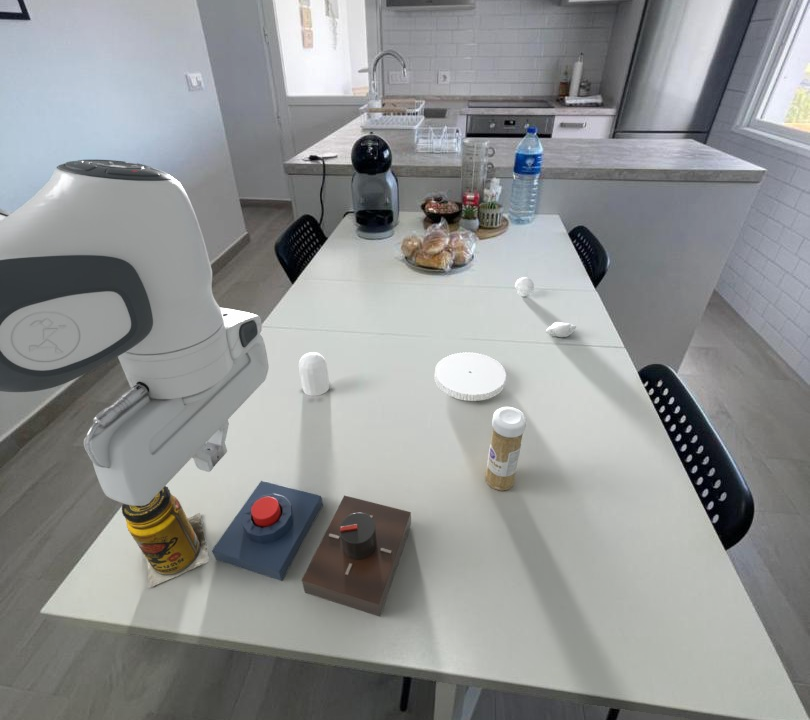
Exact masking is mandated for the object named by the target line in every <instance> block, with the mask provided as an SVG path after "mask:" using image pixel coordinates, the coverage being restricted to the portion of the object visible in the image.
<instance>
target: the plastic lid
mask: <svg viewBox="0 0 810 720" xmlns="http://www.w3.org/2000/svg"><path fill="white" fill-rule="evenodd" d="M506 381H507V371H506V369H505V367H504V366H503V365H502V363H500V362H499V361H498V360H497V359H494V357H492V356H489V355H487V354H483V353H480V352H479V353H478V352H472V351H470V352H469V351H467V352H466V351H464V352H463V351H461V352H455V353H452V354H449V355H446V356H445V357H443V358H441V359H440V360H439V361H438V363H436V364H435V368H434V382H435V384H436V386H437V387H438V389H440V391H441V392H443V393H444V395H445V394H446V395H447V396H449V397H451V398H455V399H456V400H457V399H458V400H461V401H465V402H466V401H468V402H470V401H471V402H477V401H478V402H480V401H486V400H489V399H492V398H494V397H497V395H499V394H501V392H502V391H503V390H504V389H505V386H506Z"/></svg>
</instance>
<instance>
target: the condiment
mask: <svg viewBox="0 0 810 720" xmlns="http://www.w3.org/2000/svg"><path fill="white" fill-rule="evenodd" d="M121 514H122V516H123V517H124V518H125V521H126V528H127V531H128V532H129V533H130V536H131V537H132V539H133V540H134V541H135V543H136V544H137V546H138V547H139V550H140V551H141V552H142V554H143V555H144V557H145V558H146V561H147V571H148V572H147V573H148V588H152V587H155V586H157V585H160V584H162V583H164V582H167V581H169V580H171V579H173V578H176V577H179V576H181V575H182V574H185V573H188V572H189V571H191V570H194V569H196V568H197V567H199V566H202V565H204V564H206V563H209V562H210V558H209V552H208V546H207V542H206V541H207V540H206V536H205V531H204V526H203V521H202V516H201V512H199V513H197V514H194V515H193V516H190V517H187V515H186V512H185V511H184V509H183V506H182V504H181V503H180V501H179V499H178V498H177V497H176V496H174V495H173V494H172V493H171V491H170V489H169V487H168V486H166V485H165V487H164V488H163V489H162V490H161V491H160V492H159V493H158V494H157V495H156V496H155V497H154V498H153V499H152V500H151V501H150V502H149V503H148V504H146V505H143V506H132V505H127V504H123V503H121Z"/></svg>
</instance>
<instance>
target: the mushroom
mask: <svg viewBox="0 0 810 720" xmlns="http://www.w3.org/2000/svg"><path fill="white" fill-rule="evenodd" d="M514 288H515V289H516V291H517V295H518V296H520V297H522V298H523V297H527V296H529V295H530V294H532V293H533V291H534V289H535V284H534V281H533V280H532V279H531V278H529V277H526V276H524V277H523V276H522V277H520V278H519V279H517V280H516V282H515V284H514Z"/></svg>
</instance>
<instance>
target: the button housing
mask: <svg viewBox="0 0 810 720" xmlns="http://www.w3.org/2000/svg"><path fill="white" fill-rule="evenodd" d="M263 497H273V498H275V499H276V500H277V501H278V504H279V507H280V511H281V514H280V517H279V519H278V520H277V522H275V523H274V524H273V525H271V526H267V527H261V526H258V525H257V524H256V523H255V522H254V519H253V517H252V514H251V509H252V506H253V504H254V503H255V502H256V501H257V500H259V499H261V498H263ZM323 505H324V503H323V499H322V495H320V494H316V493H312V492H308V491H304V490H301V489H297V488H293V487H288V486H284V485H281V484H277V483H274V482H269V481H266V480H260V481H259V483H258V484H257V486H256V487H255V489H254V490H253V492H252V493H251V494H250V496H249V497H248V498H247V500H246V501H245V503H244V504H243V506H242V507H241V509H240V510H239V511H238V513H237V514H236V515H235V517H234V518H233V520H232V521H231V522H230V524H228V525H229V526H228V527H227V529H226V530H225V531H224V533H223V534H222V535H221V536H220V538H219V539H218V541H217V543H216V544H215V545H214V547H213V548H212V550H211V553H212V555H213V557H214V559H215V560H216V561H217V562H222V563H224V564H227V565H231V566H233V567H237V568H240V569H243V570H246V571H249V572H252V573H256V574H258V575H262V576H265V577H269V578H271V579H275V580H277V581H281V582H282V581H283V580H284V578H285V577H286V575H287V573H288V571H289V569H290V567H291V565H292V564H293V562H294V560H295V558H296V556H297V554H298V553H299V551H300V548H301V547H302V545H303V544H304V542H305V539H306V537H307V536H308V534H309V532H310V530H311V529H312V526H313V525H314V523H315V521H316V519H317V517H318V515H319V513H320V512H321V510H322V507H324V506H323Z"/></svg>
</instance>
